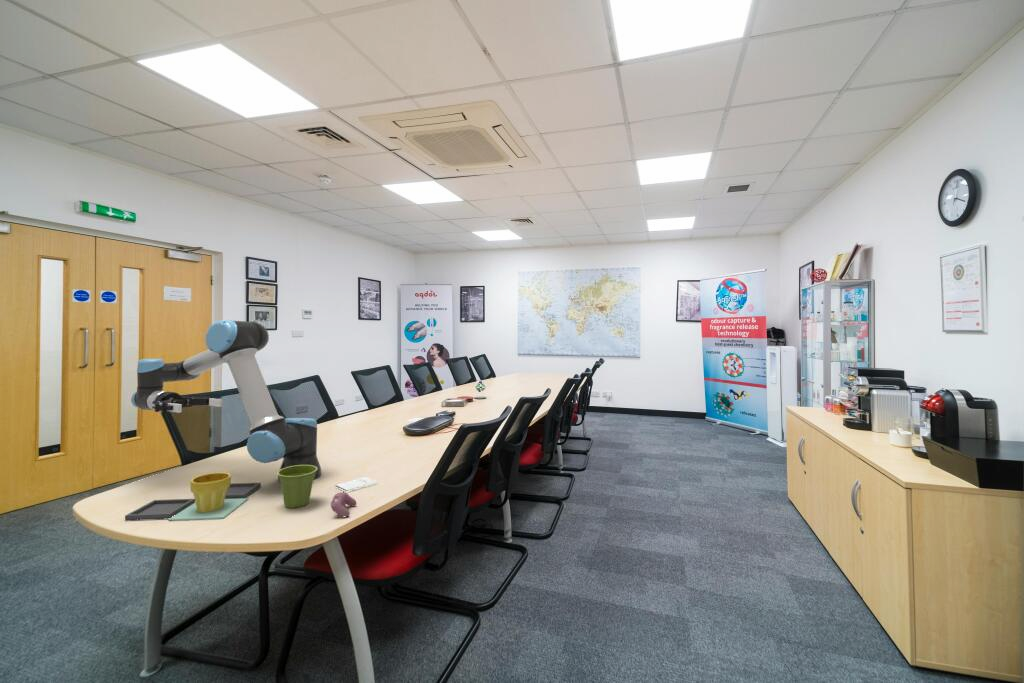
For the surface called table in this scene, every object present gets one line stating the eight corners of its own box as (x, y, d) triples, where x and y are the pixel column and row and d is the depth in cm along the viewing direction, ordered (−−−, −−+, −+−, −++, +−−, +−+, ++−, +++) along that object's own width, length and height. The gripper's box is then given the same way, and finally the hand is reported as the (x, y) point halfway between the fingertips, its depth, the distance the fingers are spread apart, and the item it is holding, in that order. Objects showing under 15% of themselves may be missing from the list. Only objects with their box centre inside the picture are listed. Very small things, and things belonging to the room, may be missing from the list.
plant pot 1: (234, 507, 131) (235, 477, 131) (194, 518, 123) (195, 485, 123) (225, 499, 138) (225, 469, 138) (186, 508, 130) (186, 477, 130)
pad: (248, 499, 139) (248, 498, 139) (223, 518, 124) (223, 517, 124) (199, 501, 137) (199, 499, 137) (168, 521, 122) (168, 519, 122)
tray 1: (194, 503, 135) (195, 498, 135) (169, 518, 123) (169, 513, 123) (154, 504, 134) (154, 500, 134) (124, 520, 122) (125, 515, 122)
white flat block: (334, 489, 151) (365, 480, 161) (346, 494, 146) (377, 485, 156) (335, 484, 151) (365, 476, 161) (346, 490, 146) (377, 480, 156)
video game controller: (345, 510, 135) (335, 491, 135) (358, 503, 136) (348, 485, 135) (336, 523, 125) (325, 503, 125) (350, 516, 126) (339, 496, 125)
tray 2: (260, 486, 151) (260, 482, 151) (244, 499, 139) (244, 494, 139) (225, 487, 149) (225, 483, 149) (205, 500, 137) (205, 496, 137)
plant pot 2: (271, 513, 129) (271, 476, 129) (283, 498, 140) (283, 465, 140) (312, 510, 131) (312, 474, 131) (320, 496, 143) (321, 463, 143)
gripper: (201, 406, 166) (236, 410, 158) (123, 417, 143) (160, 422, 135) (201, 388, 166) (236, 391, 158) (124, 395, 143) (161, 399, 135)
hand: (201, 405), depth 147 cm, fingers open, 13 cm apart
